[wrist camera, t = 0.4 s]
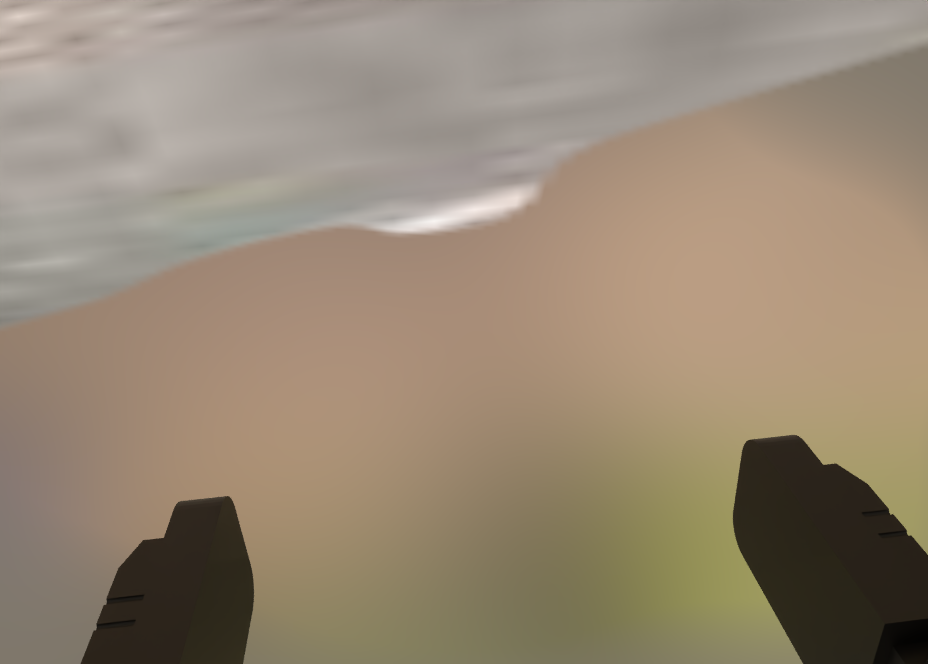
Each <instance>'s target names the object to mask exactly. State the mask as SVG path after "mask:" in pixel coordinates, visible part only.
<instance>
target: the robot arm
mask: <svg viewBox="0 0 928 664" xmlns="http://www.w3.org/2000/svg"><path fill="white" fill-rule="evenodd" d="M733 525H734V532H735V537H736V540H737V543H738V547H739V549H740V551H741V553H742V555H743V557H744V559H745V561H746V562H747V564H748V566H749V568H750V570H751V571H752V573H753V575H754V577H755V579H756V580H757V582H758V584H759V586H760V587H761V589H762V591H763V593H764V595H765V596H766V598H767V600H768V602H769V603H770V605H771V607H772V609H773V611H774V612H775V614H776V616H777V617H778V619H779V621H780V623H781V625H782V627H783V629H784V630H785V632H786V634H787V636H788V637H789V639H790V641H791V643H792V645H793V646H794V648H795V650H796V652H797V653H798V655H799V657H800V659H801V660H802V662H803V664H928V555H927V554H926V552H925V551H924V550H923V549H922V548H921V547H920V545H919V544H918V543H917V542H916V541H915V539H914V538H913V537H912V536H908V535H907V530H906V529H905V528H904V526H903V525H902V524H901V523H900V522H899V521H898V519H897V518H896V517H895V516H894V515H893V514H892V515H890V513H889V509H888V507H887V506H886V505H885V504H884V503H883V502H882V500H881V499H880V498H879V497H878V496H877V494H875V492H874V491H873V490H872V489H871V487H870V486H869V485H868V484H867V483H865V482H864V481H862V480H861V479H859V478H858V477H856V476H854V475H853V474H851V473H850V472H848V471H846V470H845V469H844V468H842V467H841V466H839V465H838V464H828V465H823V464H822V463H821V462H820V460H819V459H818V458H817V457H816V455H815V454H814V453H813V452H812V450H811V449H810V448H809V447H808V445H807V444H806V443H805V442H804V441H803V439H802V438H800V437H799V436H797V435H789V436H780V437H771V438H763V439H753V440H748V441H747V442H746V443H745V444H744V447H743V450H742V456H741V463H740V470H739V476H738V483H737V490H736V497H735V504H734V510H733ZM253 602H254V584H253V574H252V568H251V564H250V561H249V557H248V553H247V550H246V546H245V542H244V539H243V535H242V532H241V528H240V524H239V521H238V517H237V513H236V510H235V506H234V503H233V501H232V499H231V498H230V497H229V496H225V497H216V498H207V499H197V500H189V501H180V502H178V503H177V504H176V506H175V508H174V511H173V513H172V516H171V519H170V522H169V525H168V528H167V530H166V533H165V537H164V538H159V539H151V540H143V541H142V542H141V543H140V544H139V546H138V547H137V548H136V549H135V550H134V551H133V552H132V554H131V555H130V556H129V557H128V558H127V559H126V560H125V562H124V563H123V564H122V565H121V566H120V567H119V568H118V571H117V573H116V576H115V578H114V581H113V584H112V586H111V588H110V591H109V594H108V596H107V604H106V605H104V606H103V609H102V611H101V614H100V617H99V619H98V621H97V629H96V631H94V632H93V634H92V637H91V639H90V642H89V644H88V647H87V649H86V652H85V654H84V657H83V659H82V662H81V664H243V660H244V655H245V649H246V644H247V638H248V633H249V627H250V621H251V616H252V611H253Z"/></svg>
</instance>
